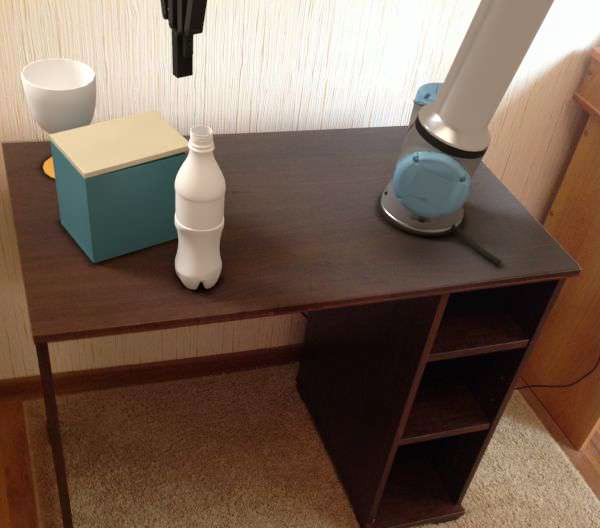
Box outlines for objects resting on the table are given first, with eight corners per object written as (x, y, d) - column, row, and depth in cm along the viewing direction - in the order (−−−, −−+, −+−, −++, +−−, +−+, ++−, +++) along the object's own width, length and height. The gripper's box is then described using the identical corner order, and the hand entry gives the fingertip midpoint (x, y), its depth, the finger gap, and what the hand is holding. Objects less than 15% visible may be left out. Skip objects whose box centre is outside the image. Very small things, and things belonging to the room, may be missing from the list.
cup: (89, 191, 131) (80, 96, 118) (24, 178, 131) (8, 81, 119) (112, 158, 139) (105, 65, 126) (50, 145, 139) (38, 52, 127)
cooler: (151, 199, 131) (149, 118, 121) (186, 235, 125) (187, 154, 115) (61, 223, 124) (49, 139, 113) (93, 263, 118) (85, 179, 107)
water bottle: (198, 260, 121) (201, 112, 103) (230, 281, 119) (240, 133, 100) (165, 278, 117) (162, 127, 99) (198, 300, 114) (201, 150, 96)
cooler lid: (154, 114, 121) (153, 109, 120) (192, 149, 115) (192, 144, 114) (49, 139, 113) (48, 134, 112) (85, 179, 107) (84, 173, 106)
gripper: (131, -116, 100) (140, 61, 118) (182, -86, 94) (183, 97, 111) (180, -119, 104) (181, 53, 121) (232, -91, 98) (226, 87, 115)
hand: (182, 74), depth 116 cm, fingers closed
